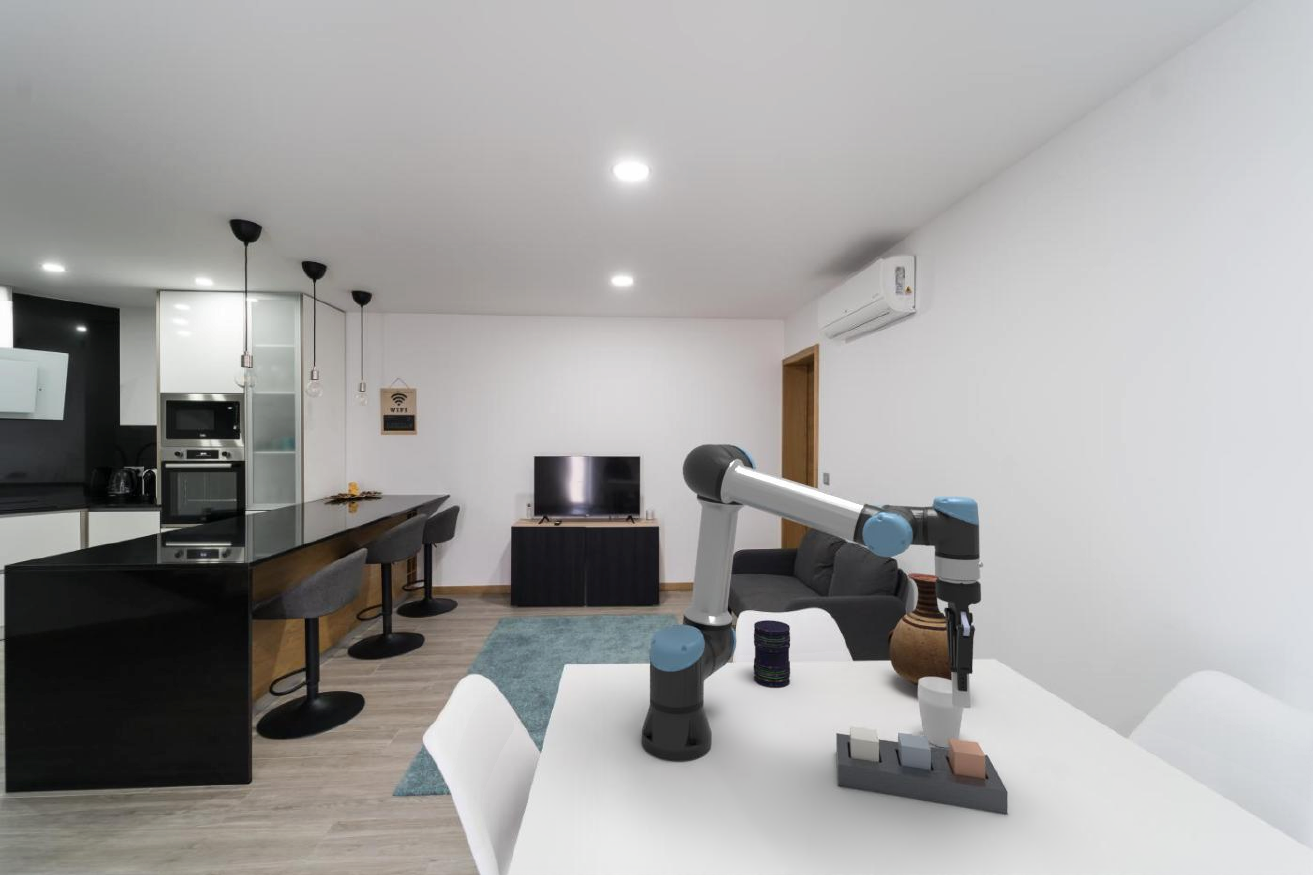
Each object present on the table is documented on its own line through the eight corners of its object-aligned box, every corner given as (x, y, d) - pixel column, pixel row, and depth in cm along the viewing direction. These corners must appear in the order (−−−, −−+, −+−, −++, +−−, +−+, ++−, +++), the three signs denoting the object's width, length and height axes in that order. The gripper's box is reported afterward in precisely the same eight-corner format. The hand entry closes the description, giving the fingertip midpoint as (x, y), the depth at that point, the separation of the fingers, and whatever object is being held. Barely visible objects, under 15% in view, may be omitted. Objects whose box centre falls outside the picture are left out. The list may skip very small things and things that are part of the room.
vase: (871, 678, 153) (871, 569, 154) (924, 670, 159) (923, 566, 159) (931, 713, 133) (930, 588, 134) (989, 703, 138) (988, 583, 139)
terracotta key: (954, 779, 101) (954, 751, 102) (948, 764, 106) (948, 738, 106) (985, 784, 100) (985, 756, 100) (977, 768, 105) (977, 742, 105)
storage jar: (769, 670, 158) (769, 618, 159) (797, 681, 151) (797, 626, 151) (746, 679, 152) (746, 624, 152) (774, 691, 145) (774, 634, 145)
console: (838, 785, 104) (838, 764, 104) (836, 752, 115) (836, 733, 115) (1007, 814, 96) (1007, 791, 96) (987, 775, 107) (987, 755, 107)
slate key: (901, 772, 104) (901, 745, 104) (898, 758, 109) (898, 732, 109) (930, 776, 103) (930, 749, 103) (925, 762, 107) (925, 736, 107)
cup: (970, 753, 115) (970, 695, 116) (924, 748, 117) (923, 691, 117) (956, 732, 124) (955, 678, 124) (913, 727, 126) (912, 674, 126)
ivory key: (851, 764, 106) (851, 738, 107) (849, 750, 111) (849, 725, 111) (878, 768, 105) (878, 742, 105) (876, 754, 110) (876, 729, 110)
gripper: (989, 588, 97) (994, 724, 96) (971, 573, 109) (974, 693, 109) (942, 585, 99) (946, 719, 98) (929, 571, 112) (932, 689, 111)
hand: (961, 705), depth 103 cm, fingers closed
